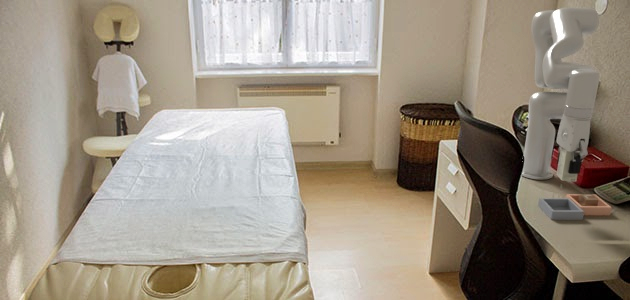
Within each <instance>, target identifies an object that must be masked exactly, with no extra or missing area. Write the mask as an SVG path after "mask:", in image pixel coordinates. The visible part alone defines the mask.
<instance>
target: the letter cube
mask: <svg viewBox="0 0 630 300" xmlns="http://www.w3.org/2000/svg"><path fill="white" fill-rule="evenodd" d="M578 203H579V204H580V205H581V206H597V205H598V199H597V198H596V197H595V196H594V195H592V194H591V193H590V194H589V193H588V194H587V193H585V194H583V193H582V194H581V193H580V195H579V200H578Z"/></svg>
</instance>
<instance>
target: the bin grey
mask: <svg viewBox="0 0 630 300" xmlns="http://www.w3.org/2000/svg"><path fill="white" fill-rule="evenodd" d="M537 203H538V204H537V207H538V208H540V210H541V211H542V212H543V213H544V214H545V215H546V216H547V217H548V218H549V219H550V220H557V221H558V220H559V221H560V220H562V221H565V220H566V221H567V220H571V221H572V220H575V221H576V220H577V221H578V220H581V221H583V219H584V216H585V215H584V211H583V210H582V209H581V208H580V207H578V206H577V205H576V204H575V203H574V202H573V201H572V200H571V199H570V198H566V197H563V198H562V197H539V199H538V202H537Z"/></svg>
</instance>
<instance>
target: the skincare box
mask: <svg viewBox="0 0 630 300" xmlns="http://www.w3.org/2000/svg"><path fill="white" fill-rule="evenodd" d="M575 151H580V148H578V149H576V150H575ZM575 155H576V156H577V155H579V153H575ZM570 161H572V152H568V151H567V150H565V149H564V148H562V147H561V150H560V157H559V163H558V164H557V168H556V169H557V170H556V175H557V176H558V178H559V179H560V180H561V182H562V181H563V182H577V181H578V180H577V179H578V174H569V173H568V171H569V165H570Z"/></svg>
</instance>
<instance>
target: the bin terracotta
mask: <svg viewBox="0 0 630 300" xmlns="http://www.w3.org/2000/svg"><path fill="white" fill-rule="evenodd" d="M580 194H581V193H580ZM580 194H576V193H573V194H572V193H571V194H570V193H567V194H565V198H570V199H571V200H572V201H573V202H574V203H575V204H576V205H577V206H578V207H580V208H581V209H582V210H583V211H584V215H583V216H611V212H612V206H611V205H609V204H608V203H607V202H605V200H603V199H602V198H601V197H599V196H598V195H597V194H594V193H593V194H592V195H594V196H595V197H596V198H597V199H598V205H597V206H581V205H580V204H579V203H578V200H579V195H580Z"/></svg>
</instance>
